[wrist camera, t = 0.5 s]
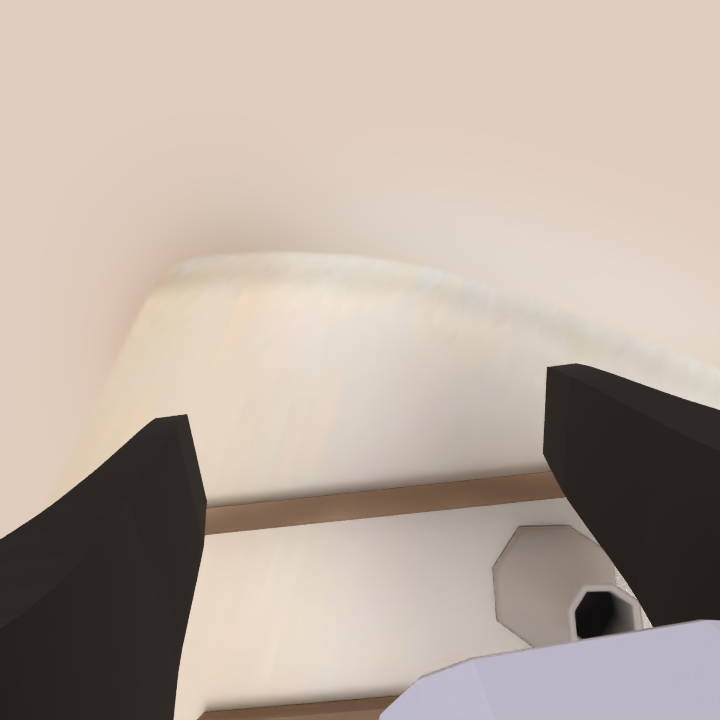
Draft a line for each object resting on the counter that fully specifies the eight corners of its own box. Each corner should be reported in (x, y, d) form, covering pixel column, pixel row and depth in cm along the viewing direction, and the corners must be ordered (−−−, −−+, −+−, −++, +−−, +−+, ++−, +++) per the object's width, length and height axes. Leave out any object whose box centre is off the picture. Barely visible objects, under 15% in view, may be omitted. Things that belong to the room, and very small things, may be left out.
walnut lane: (704, 700, 33) (721, 712, 31) (205, 740, 35) (192, 755, 33) (653, 460, 36) (667, 458, 34) (195, 510, 38) (183, 510, 36)
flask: (603, 672, 34) (677, 742, 25) (476, 630, 35) (499, 681, 26) (630, 543, 36) (710, 561, 26) (507, 507, 37) (539, 511, 27)
